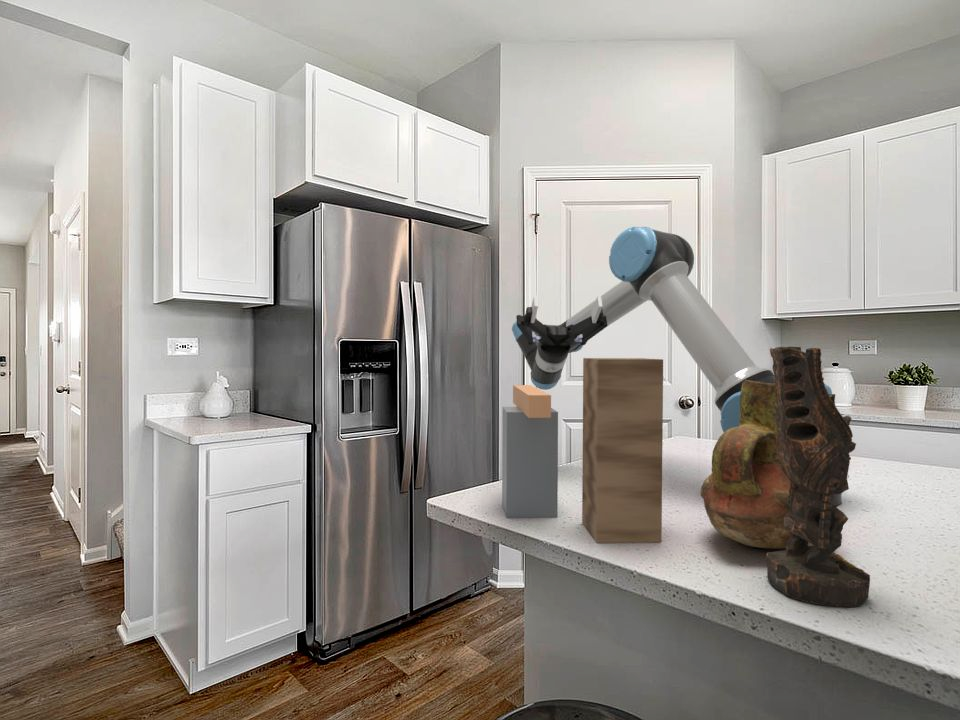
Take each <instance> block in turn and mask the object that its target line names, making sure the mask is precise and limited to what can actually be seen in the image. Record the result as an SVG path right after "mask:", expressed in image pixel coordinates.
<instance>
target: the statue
mask: <svg viewBox="0 0 960 720" xmlns="http://www.w3.org/2000/svg"><path fill="white" fill-rule="evenodd" d="M821 350H822V348H817V347H810V348H806V349H805V351H802V346H778V347H777V346H776V347H774V348H769V352H770V353H769V354H770V357H771V358H772V363H773V364H772V373H773V374H774V375H775V385H776V388H777V389H776V393H777V400H776V403H777V411H778V412H777V413H776V415H775V422H776V427H777V435H776V447H777V454H778V458H779V462H780V466H781V468H782V471H783V473H784V475H785V476H786V477H787V478H788V479H789V480H790V481H791V482H790V486H791V487H790V489H789V494H790V495H789V496H788V505H787V506H788V509H787V514H786V515H785V517H784V526H785V527H786V529H787V530H788V531H789V532H790V537H789V541H788V544H787V546H786V549H782V550H779V551H777V550H776V551H772V552H767V553H766V556H765V560H766V565H767V566H766V567H767V568H766V569H767V572H766V573H767V576H766V577H767V579H768V581H769V582H770V584H771V585H772V586H773V587H774V588H776V589H777V590H779V592H781V593H782V594H785V595H787V596H789V597H791V598H793V599H796V600H798V601H799V600H800V601H802V602H806V603H811V604H815V605H819V606H820V605H821V606H828V607H840V608H856V607H859V606H862V605H863V604H864V603H865V602H866V601H868V599H869V593H870V587H871V586H870V585H871V575H870V574H869V573H867V572H865V570H863V569H862V568H860V567H858V566H856V565H854V564H853V563H851V562H848V560H846V559H845V558H844V557H843V556H841V555H840V554H838V553H836V550H838V549H839V548H840V547H842V541H843V533H842V531H843V529H844V526H845V524H846V523H847V522H848V520H849V518H848V517H847V515H846V514H845V513H844V512H843V511H842V510H840V508H838V507H836V506H834V505H833V504H831V503H830V502H829V501H830V499H831V501H832V500H833V498H834V497H833V494H841V495H842V493H845V492H846V491H848V490H849V488H850V487H849V482H848V478H849V477H850V475H849V468H850V464H851V463H850V462H851V459H852V457H851V456H850V453H852V452H853V451H854V450H855V449H856V446H857V443H856V442H854V441H853V437H854V436H853V431H852V429H851V426H850V423H851V421H852V417H851V416H849V415H845V416H843V415H842V413H841V412H840V411H839V410H838V408H837V406H836V401H835V399H836V393H832V394H828V392H827V389H826V387H825V384H826V383H825V382H824V380H825V378H824V376H823V372H822V363H823V362H822V360H821V357H822V352H821ZM830 495H832V497H830ZM810 544H811V545H810Z"/></svg>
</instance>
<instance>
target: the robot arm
mask: <svg viewBox="0 0 960 720" xmlns="http://www.w3.org/2000/svg"><path fill="white" fill-rule="evenodd" d="M608 264H609V268H610V271H611V273H612V274H613V275H614V277H615V278H617V279H618V280H620V282H619V283H617V284H615V285H614V286H613V287H611V288H610V289H609V290H607V291H605V293H603V294H602V295H597V296H596V298H595V300H594V301H592V302H590V303H589V304H588V305H586V306H585V307H583V308H582V309H581V310H579V311H578V312H576V313H575V314H573V315H572V316H571V317H569V318H568V319H567V320H565V321H564V322H562V323H561V324H559V325H556V324H555V325H554V324H543V323H542V322H541V321H540V320H538V319H537V313H538V308H539V301H538V295H533V298H532V302H531V306H528V307H526V308H525V309H526V310H525V314H524V315H522V314H517V315H516V321H515V322H513V324H512V326H511V331H512V335H513V336H514V338H515V342H516V343H517V345H518V347H519V349H520V350H521V352H522V354H523V357H524V358H525V360H526V364H527V365H528V366H529V369H530V380H531V383H532V384H533V385H534V387H535V388H537V389H539V390H541V391H545V390H551V389H553V388H555V387H556V386H557V384H558V383H559V381H560V379H561V377H562V372H563V371H564V370H563V369H564V367H565V364H566V361H567V358H568V356H569V354H571V353H576V352H579V351H581V350H582V348H583V347H584V346H585V345H586V344H587V342H588V341H589V340H591V339H592V338H593V337H595V336H596V335H598V334H599V333H600V332H602V331H603V330H604V329H606V328H607V327H608V326H610V325H612V324H614V323H615V322H617V321H618V320H620V319H621V318H623V317H624V316H627V314H629V313H630V312H632V311H634V310H635V309H637V308H638V307H640V306H641V305H643V304H644V303H646V302H647V301H651V302H652V303H653V304H654V306H655V307H656V309H657V310H658V311H659V313H660V314H661V316H662V317H663V319H664V320H665V322H666V323H667V324H668V326H669V327H670V328H671V330H672V331H673V333H674V334H675V335H676V337H677V339H678V340H679V341H680V343H681V344H682V345H683V347H684V348H685V350H686V351H687V352H688V354H689V355H690V357H691V358H692V359H693V361H694V362H695V363H696V365H697V367H698V368H699V369H700V370H701V372H702V373H703V375H704V376H705V379H707V380H708V382H709V383H710V384H711V386H712V388H713V389H714V390H715V392H716V393H715V398H714V404H715V406H716V407H717V408H718V410H719V411H720V421H719V422H720V427H721V430H722V432H723V433H724V432H725V431H726V430H728V429H730V428H734V427H739V425H740V414H739V412H740V394H741V388H742V383H743V382H744V381H745V380H750V381H755V382H763V383H770V384H775V375H774V372H773V370H771V369H770V368H766V367H759V366H757V365H756V363H755V362H754V361H753V360H752V358H751V357H750V356H749V355H748V353H747V352H746V351H745V349H744V348H743V347H742V345H741V344H740V343H739V341H738V340H737V339H736V338H735V336H734V335H733V334H732V332H731V331H730V330H729V329H728V327H727V326H726V325H725V323H724V322H723V321H722V320H721V318H720V317H719V316H718V314H717V313H716V312H715V311H714V309H713V308H712V307H711V305H710V304H709V302H707V300H706V299H705V297H704V296H703V295H702V293H700V291H699V290H698V288H697V287H696V286H695V284H693V282H692V280H690V278H689V276H690V274H691V272H692V270H693V268H694V264H695V254H694V250H693V248H692V246H691V244H690V243H689V242H688V241H687V239H685V238H683V237H682V236H680V235H678V234H674V233H669V232H666V231H665V232H664V231H661V230H656V229H652V228H651V227H648V226H632V227H631V226H630V227H628V228H627V229H625V230H623V231H622V232H620V233H619V234H618V236H617V237H616V238H615V240H614V241H613V243H612V245H611V247H610V254H609V256H608ZM824 384H825V387H826V389H827V392H828V394H833V391H832V389H831V386H829V385H827V384H826V383H824ZM830 497H832V495H830ZM833 497H834V498H833V500H832V501H831V499H830V503H831V504H833V505H834V506H835V507H836V506H839V505H840V504H842V493H841V494H833Z"/></svg>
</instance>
